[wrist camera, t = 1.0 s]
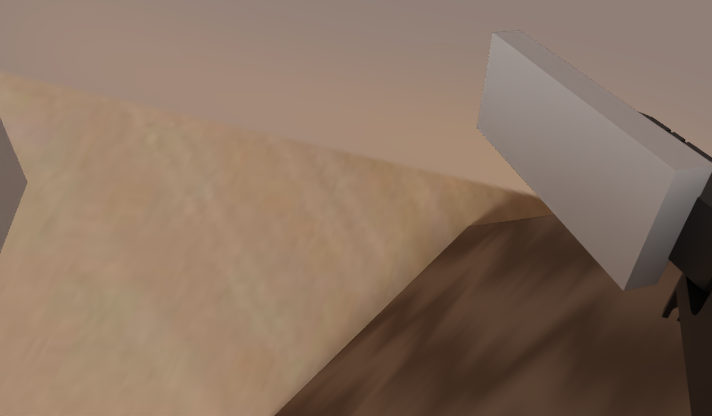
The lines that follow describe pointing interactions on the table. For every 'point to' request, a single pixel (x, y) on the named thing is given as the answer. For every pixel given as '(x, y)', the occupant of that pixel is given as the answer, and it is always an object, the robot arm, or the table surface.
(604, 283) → the walnut post
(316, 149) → the table surface
